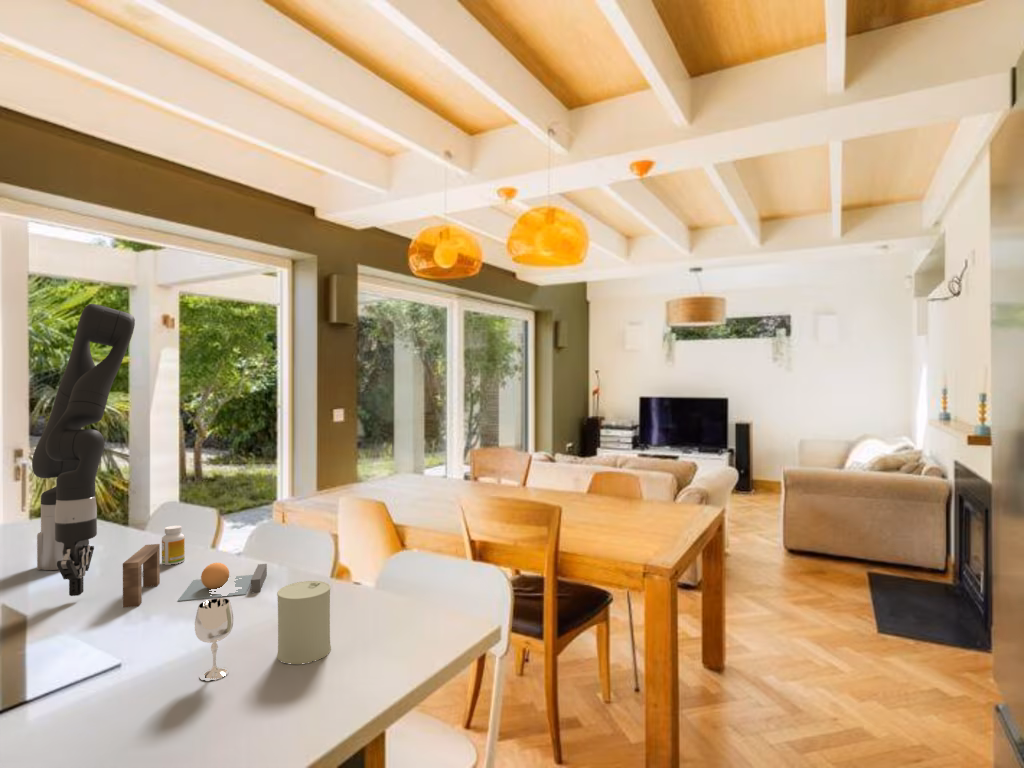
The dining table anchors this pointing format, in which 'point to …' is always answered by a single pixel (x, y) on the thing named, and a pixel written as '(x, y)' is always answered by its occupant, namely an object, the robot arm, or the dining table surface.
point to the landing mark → (200, 591)
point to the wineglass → (214, 628)
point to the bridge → (140, 574)
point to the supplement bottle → (173, 546)
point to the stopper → (258, 578)
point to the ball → (215, 575)
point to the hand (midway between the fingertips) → (76, 594)
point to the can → (303, 622)
